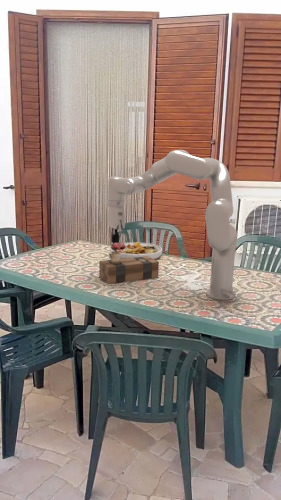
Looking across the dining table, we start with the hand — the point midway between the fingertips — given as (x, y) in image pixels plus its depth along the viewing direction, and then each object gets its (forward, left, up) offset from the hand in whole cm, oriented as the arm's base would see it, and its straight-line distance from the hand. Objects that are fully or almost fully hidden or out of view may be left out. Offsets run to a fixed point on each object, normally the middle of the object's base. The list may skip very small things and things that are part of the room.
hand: (115, 242), depth 212 cm
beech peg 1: (0, 0, -13) cm, 13 cm away
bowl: (+36, -28, -19) cm, 49 cm away
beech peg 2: (0, -14, -18) cm, 23 cm away
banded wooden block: (0, -7, -18) cm, 19 cm away
